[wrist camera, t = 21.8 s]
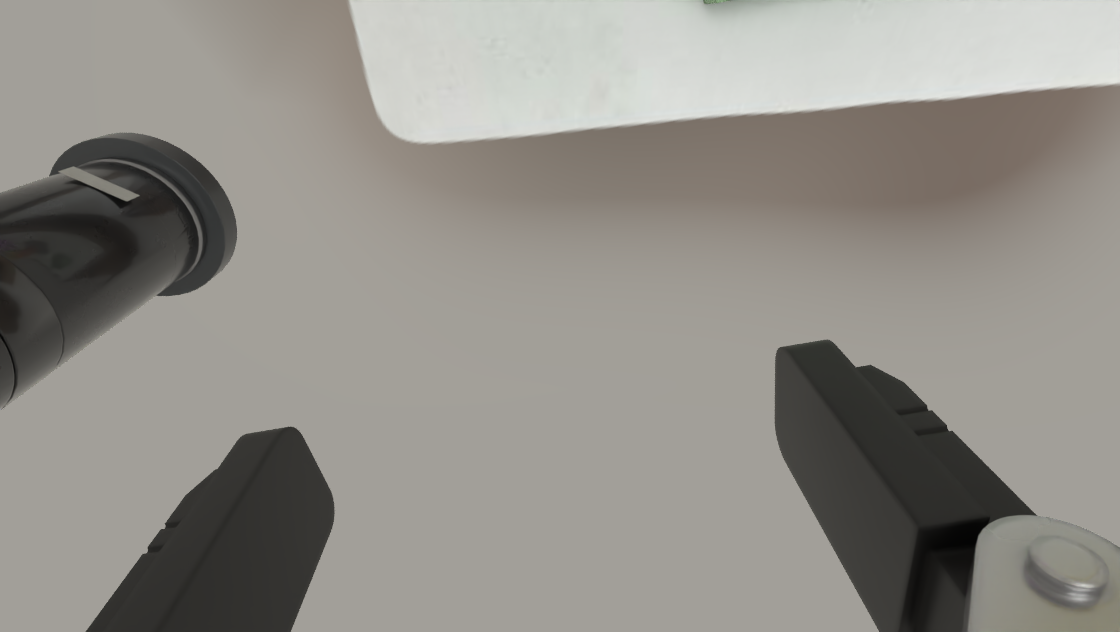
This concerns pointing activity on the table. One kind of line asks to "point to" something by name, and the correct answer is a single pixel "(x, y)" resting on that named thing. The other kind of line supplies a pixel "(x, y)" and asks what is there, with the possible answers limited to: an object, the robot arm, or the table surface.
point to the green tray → (713, 1)
